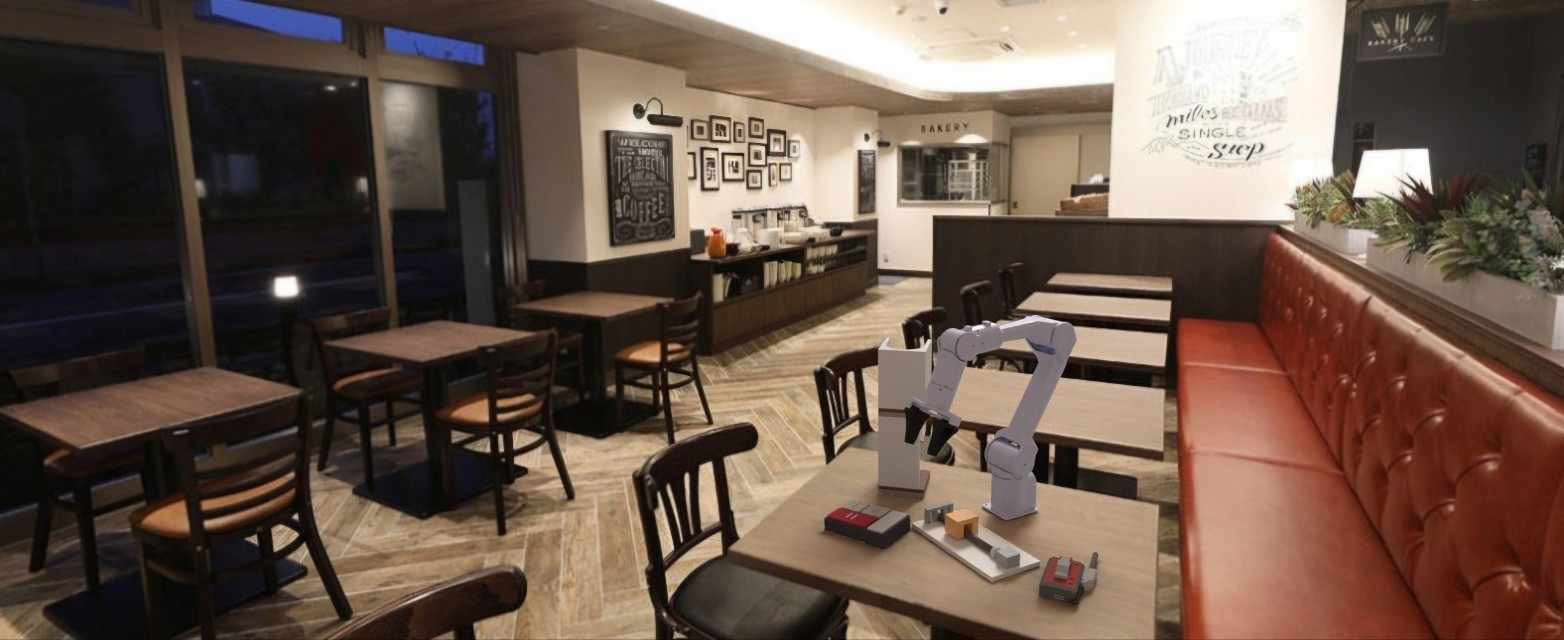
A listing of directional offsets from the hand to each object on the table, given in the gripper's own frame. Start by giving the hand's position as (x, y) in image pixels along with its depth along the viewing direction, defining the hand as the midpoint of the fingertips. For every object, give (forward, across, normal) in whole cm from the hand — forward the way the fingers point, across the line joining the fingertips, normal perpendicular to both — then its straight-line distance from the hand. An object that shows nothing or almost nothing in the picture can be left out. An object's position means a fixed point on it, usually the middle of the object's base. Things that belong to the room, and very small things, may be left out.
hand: (919, 449), depth 161 cm
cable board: (+15, +8, +15) cm, 22 cm away
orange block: (+14, +5, +14) cm, 20 cm away
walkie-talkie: (+12, +27, +22) cm, 37 cm away
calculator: (+21, -8, +2) cm, 23 cm away
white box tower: (+13, -22, +19) cm, 32 cm away
